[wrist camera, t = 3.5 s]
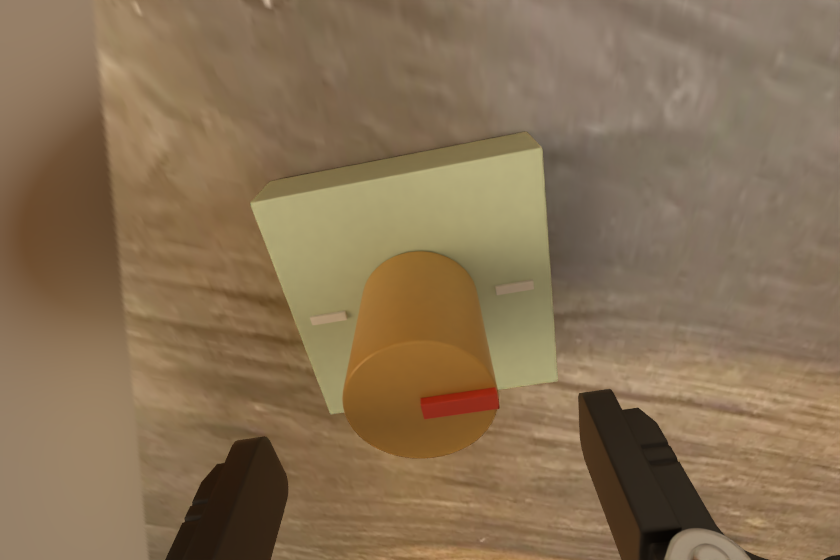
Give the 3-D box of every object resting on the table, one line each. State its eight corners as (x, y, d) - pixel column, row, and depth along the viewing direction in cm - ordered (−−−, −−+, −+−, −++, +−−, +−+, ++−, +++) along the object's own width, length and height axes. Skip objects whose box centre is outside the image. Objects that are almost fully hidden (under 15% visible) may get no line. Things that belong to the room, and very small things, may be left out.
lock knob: (377, 356, 19) (362, 476, 14) (349, 261, 17) (320, 362, 12) (484, 339, 19) (508, 456, 14) (468, 240, 17) (490, 336, 12)
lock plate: (338, 377, 23) (329, 417, 21) (268, 180, 18) (247, 204, 16) (544, 345, 22) (559, 384, 20) (527, 131, 18) (543, 148, 15)
